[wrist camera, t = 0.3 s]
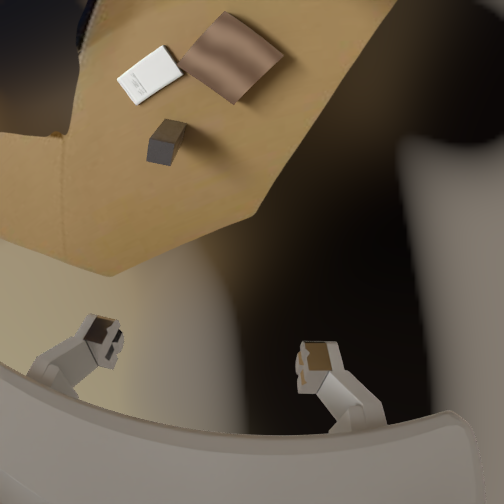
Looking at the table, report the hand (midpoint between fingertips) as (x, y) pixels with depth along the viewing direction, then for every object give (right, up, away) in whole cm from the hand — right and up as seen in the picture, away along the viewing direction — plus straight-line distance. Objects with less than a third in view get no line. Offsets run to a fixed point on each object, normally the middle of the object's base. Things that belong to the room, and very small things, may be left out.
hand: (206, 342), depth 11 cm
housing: (-15, +31, +43) cm, 55 cm away
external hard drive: (-19, +41, +33) cm, 56 cm away
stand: (-2, +42, +31) cm, 52 cm away
